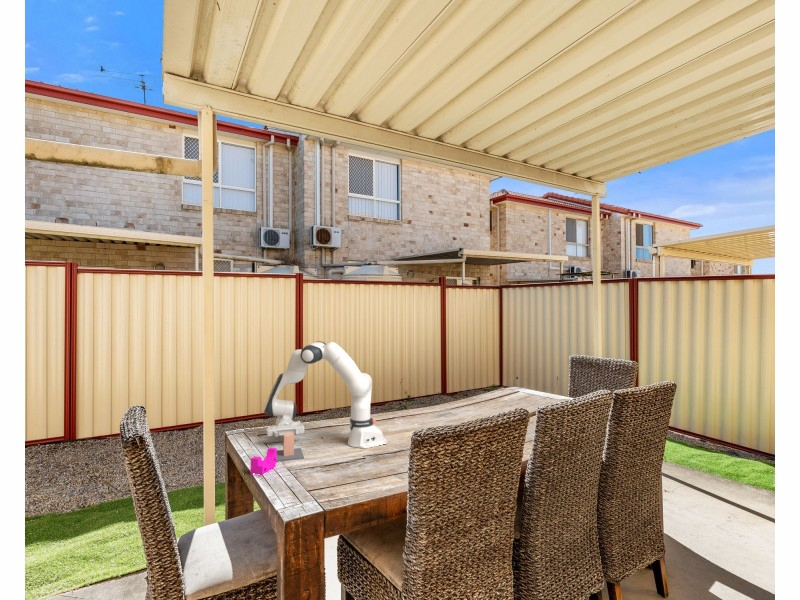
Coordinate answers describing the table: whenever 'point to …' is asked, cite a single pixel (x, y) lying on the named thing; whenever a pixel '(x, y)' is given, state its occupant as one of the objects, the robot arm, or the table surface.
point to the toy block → (264, 462)
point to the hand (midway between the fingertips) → (286, 434)
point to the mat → (297, 455)
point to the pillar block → (288, 444)
